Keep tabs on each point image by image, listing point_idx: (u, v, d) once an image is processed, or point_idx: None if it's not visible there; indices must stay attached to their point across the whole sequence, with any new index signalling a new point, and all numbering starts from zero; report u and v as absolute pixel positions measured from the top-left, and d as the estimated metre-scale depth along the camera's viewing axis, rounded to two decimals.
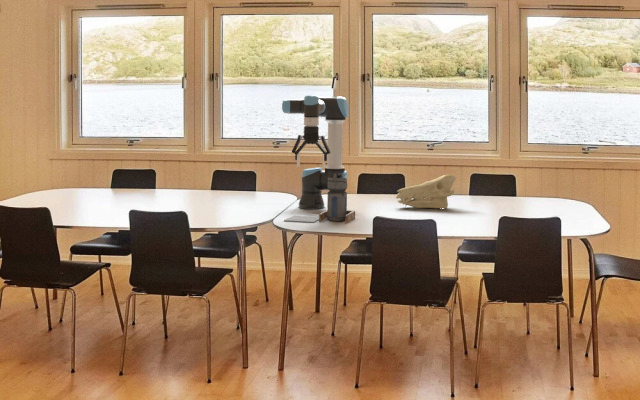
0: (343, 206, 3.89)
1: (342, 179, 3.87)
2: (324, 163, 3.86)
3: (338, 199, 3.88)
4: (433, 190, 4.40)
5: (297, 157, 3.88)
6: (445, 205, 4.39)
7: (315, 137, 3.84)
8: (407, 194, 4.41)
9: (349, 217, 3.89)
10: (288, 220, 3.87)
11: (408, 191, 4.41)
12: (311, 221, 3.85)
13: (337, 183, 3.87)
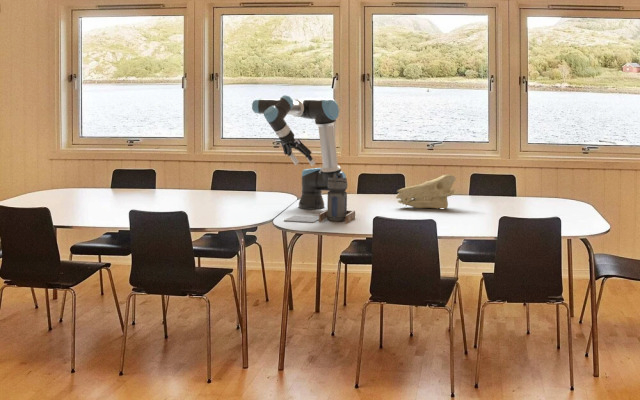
0: (343, 206, 3.89)
1: (342, 179, 3.87)
2: (312, 161, 3.89)
3: (338, 199, 3.88)
4: (433, 190, 4.40)
5: (291, 158, 3.98)
6: (445, 205, 4.39)
7: (292, 143, 3.85)
8: (407, 194, 4.41)
9: (349, 217, 3.89)
10: (288, 220, 3.87)
11: (408, 191, 4.41)
12: (311, 221, 3.85)
13: (337, 183, 3.87)
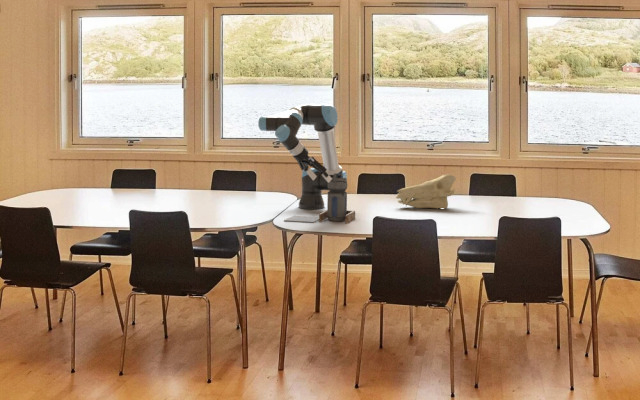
0: (343, 206, 3.89)
1: (342, 179, 3.87)
2: (328, 177, 3.79)
3: (338, 199, 3.88)
4: (433, 190, 4.40)
5: (307, 173, 3.89)
6: (445, 205, 4.40)
7: (306, 161, 3.76)
8: (407, 194, 4.41)
9: (349, 217, 3.89)
10: (288, 220, 3.87)
11: (408, 191, 4.41)
12: (311, 221, 3.85)
13: (337, 183, 3.87)
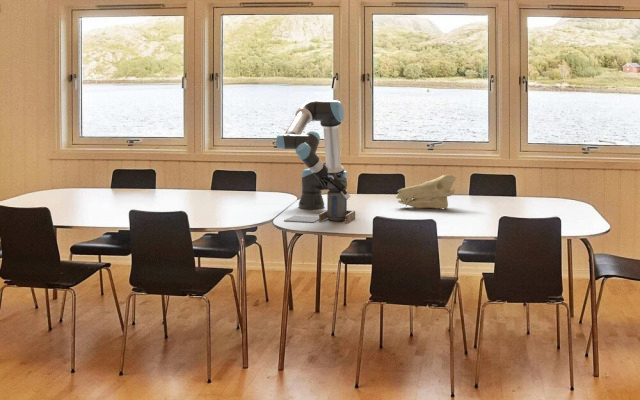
0: (343, 206, 3.89)
1: (342, 178, 3.87)
2: (346, 195, 3.89)
3: (338, 199, 3.88)
4: (433, 190, 4.40)
5: None
6: (445, 205, 4.40)
7: (326, 177, 3.84)
8: (407, 194, 4.41)
9: (349, 217, 3.89)
10: (288, 220, 3.87)
11: (408, 191, 4.41)
12: (311, 221, 3.85)
13: None
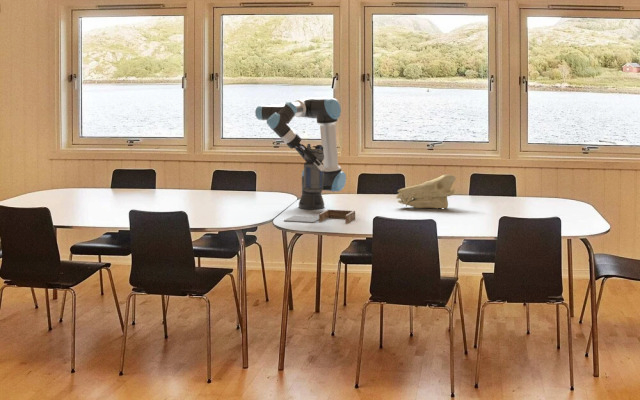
0: (317, 177, 3.86)
1: (316, 150, 3.84)
2: (320, 166, 3.85)
3: (311, 170, 3.85)
4: (433, 190, 4.41)
5: None
6: (445, 205, 4.40)
7: (298, 148, 3.84)
8: (407, 194, 4.41)
9: (349, 217, 3.89)
10: (288, 220, 3.87)
11: (408, 191, 4.41)
12: (311, 221, 3.85)
13: None
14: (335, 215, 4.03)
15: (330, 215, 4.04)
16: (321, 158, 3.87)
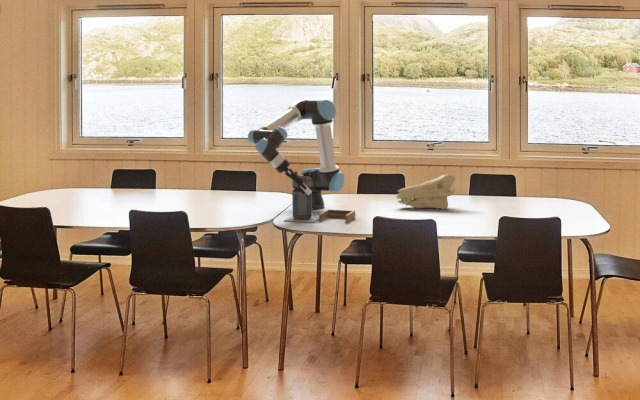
0: (304, 204, 3.88)
1: (302, 177, 3.87)
2: (307, 190, 3.86)
3: (298, 197, 3.88)
4: (433, 190, 4.41)
5: None
6: (445, 205, 4.40)
7: (286, 173, 3.87)
8: (408, 194, 4.41)
9: (349, 217, 3.89)
10: (288, 220, 3.87)
11: (409, 191, 4.40)
12: (311, 221, 3.85)
13: None
14: (335, 215, 4.03)
15: (330, 215, 4.04)
16: (308, 185, 3.89)
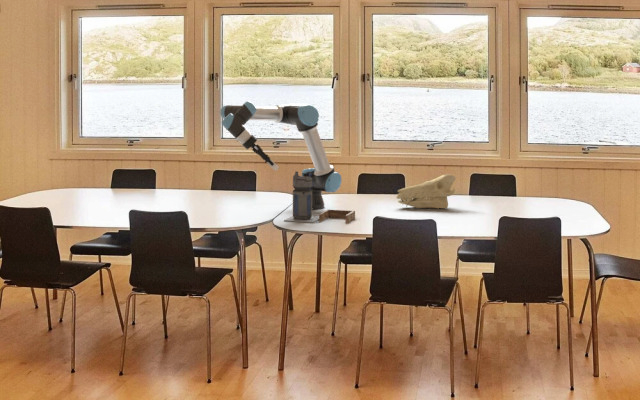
0: (304, 205, 3.88)
1: (303, 177, 3.87)
2: (274, 166, 3.81)
3: (299, 197, 3.88)
4: (433, 190, 4.41)
5: None
6: (445, 205, 4.41)
7: (253, 149, 3.83)
8: (408, 194, 4.41)
9: (349, 217, 3.89)
10: (288, 220, 3.87)
11: (409, 191, 4.40)
12: (311, 221, 3.85)
13: (298, 181, 3.87)
14: (335, 215, 4.03)
15: (330, 215, 4.04)
16: (309, 186, 3.88)
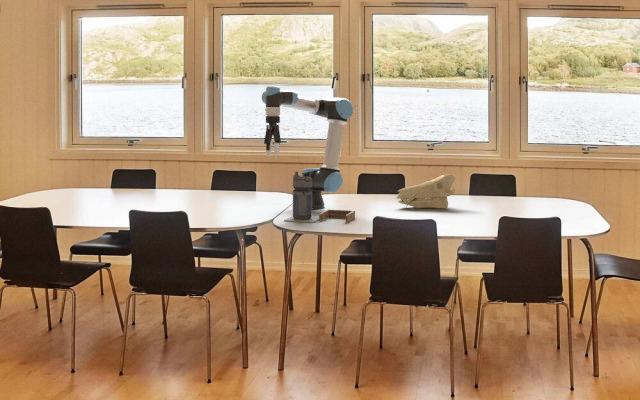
0: (304, 205, 3.88)
1: (303, 177, 3.87)
2: (268, 152, 3.93)
3: (299, 197, 3.88)
4: (433, 190, 4.41)
5: None
6: (445, 205, 4.41)
7: None
8: (408, 194, 4.40)
9: (349, 217, 3.89)
10: (288, 220, 3.87)
11: (409, 191, 4.40)
12: (311, 221, 3.85)
13: (298, 181, 3.87)
14: (335, 215, 4.03)
15: (330, 215, 4.04)
16: (309, 186, 3.88)
